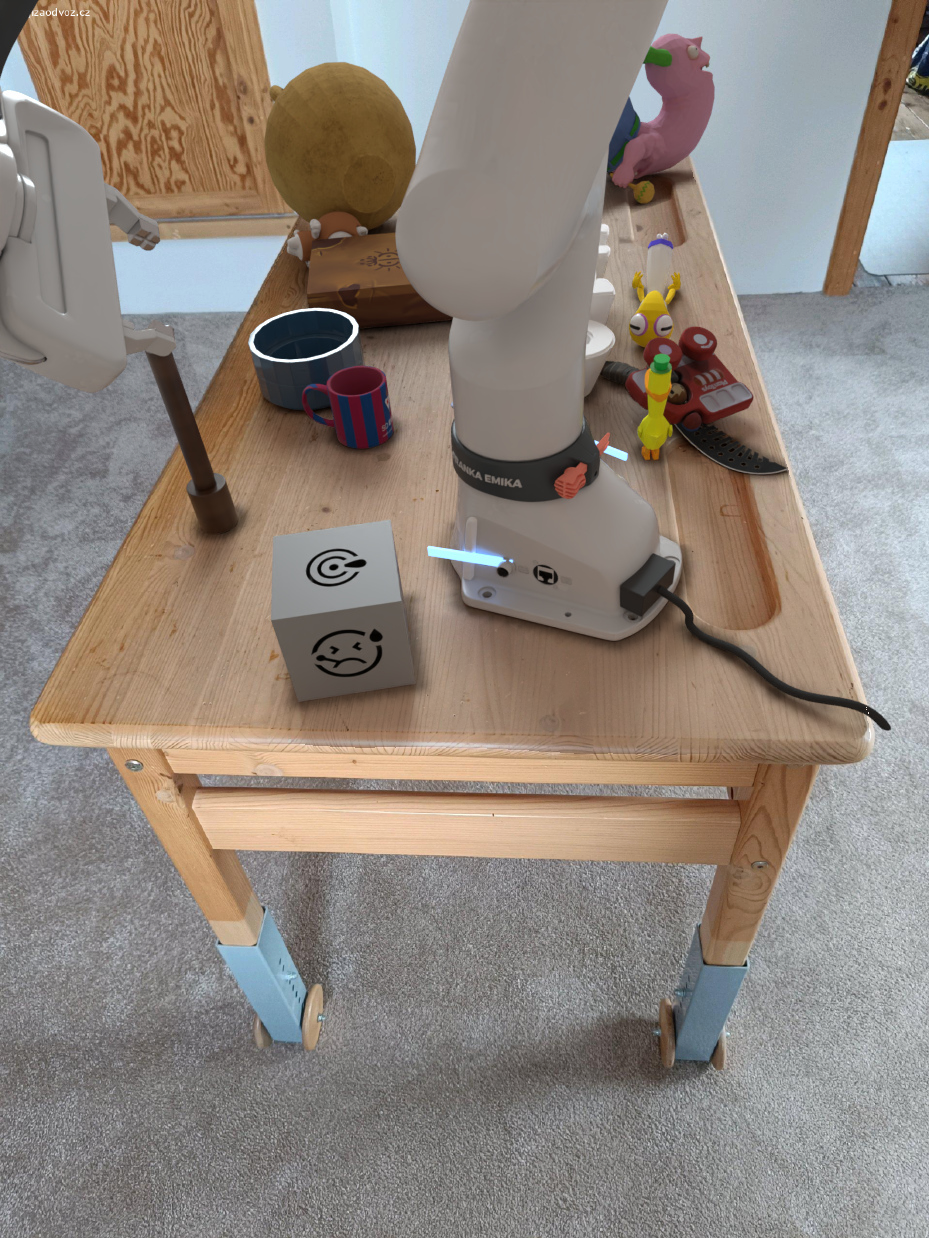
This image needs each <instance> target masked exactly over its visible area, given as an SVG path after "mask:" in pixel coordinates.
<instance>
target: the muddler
mask: <svg viewBox="0 0 929 1238" xmlns="http://www.w3.org/2000/svg"><path fill="white" fill-rule="evenodd" d="M144 353H145V356H146V358H147V361H148V364H149V367H150V369H151V372H152V375H153V377H154V381H155V383H156V385H157V388H158V391H159V394H160V396H161V400H162V401H163V405H164V407H165V410H166V412H167V415H168V418H169V421H170V424H171V426H172V429H173V431H174V435H175V437H176V440H177V442H178V445H179V448H180V451H181V453H182V455H183V459H184V461H185V464H186V467H187V469H188V472H189V475H190V477H191V478H190V480H189V481H188V482H187V484H186V488H185V489H186V493H187V495H188V498H189V501H190V505H191V506H192V509H193V511H194V514H195V516H196V519H197V521H198V524H199V528H200V529H201V530H202V531H203V532H204V533H205V534H209V535H220V534H223V533H226V532H229V531H230V530H232V529H233V528H234V527H236V526H237V524H238V522H239V516H238V513H237V509H236V506H235V504H234V501H233V498H232V494H231V491H230V489H229V485H228V484H227V479H226V478H225V476H224V475H222V474H220V473H218V472H214V470H213V467H212V464H211V462H210V458H209V454H208V452H207V450H206V447H205V444H204V441H203V438H202V435H201V431H200V429H199V426H198V423H197V420H196V417H195V415H194V411H193V409H192V406H191V403H190V400H189V398H188V394H187V391H186V388H185V385H184V383H183V380H182V377H181V374H180V371H179V368H178V365H177V362H176V360H175V357H174V354H173V351H172V352H171V353H170V354H169V355H167V356H159V355H156V354H153V353H150V352H148V351H145V350H144Z"/></svg>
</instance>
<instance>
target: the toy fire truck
mask: <svg viewBox="0 0 929 1238" xmlns="http://www.w3.org/2000/svg"><path fill="white" fill-rule="evenodd" d="M717 346H718V340H717V338H716V336H715V335H714V333H713V332H711V331H710V330H709V329H707V328H706V327H702V326H690V327H687V328H685V329H684V330H683V331H682V333H681V335H680V337H679V339H678V343H676V341H674V340H672V339H670V338H669V339H667V338H663V337H657V338H654V339H652V340H650V341H649V342H648V343H647V345H646V347H644V350H643V353H642V355H643V359H644V362H645V364H646V365H645V367H644V368H642V369H640V370H639V371H636V372H633V373H631V374H630V375H629V377H628V379H627V381H626V383H625V385H624V386H625V389H626V391H628V394H629V397H630V398H631V399H632V401H634V403H637V404H638V406H640V407H641V408H643V409H645V410H646V411H648V394H647V393H646V389H645V374H646V371H647V370H648V369H650V365H651V363H653V362H654V357H655V355H658V354H666V355H668V356H669V357H670V361H669V363H670V364H671V366H672V369H671V370H672V371H671V380H670V381H671V385H672V388H671V391H670V393H669V395H668V397H667V401H666V405H665V409H664V413H663V416H664V417H665V418H666V420H667V421H668V422H669V425H675V424H678V423H680V422H682V426H683V427H684V428H685V429H686V430H687V431H695V430H697V429H698V428H699V427H700V426H701V423H704V424H707V425H709V424H708V423H710V424H712V423H714V422H717V421H719V420H722V419H725V418H728V417H729V416H732V415H735V414H738V413H739V412H743V411H746V410H748V409H749V408H750V406H751V405H752V403H753V401H754V399H755V398H754V393H753V392H752V391H751V390H750V389H749V387H748V386H747V385H746V384H745V383H743V382H741V381H738V379H736V377H735V376H734V375H733V374H732V372H731V371H730V370H729V369H728V368H727V366H726V365H725V364H724V363H723V361H721V359H720V358H719V357H718V356H717V355H716V353H715V352H716V349H717ZM701 427H702V426H701Z"/></svg>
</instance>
